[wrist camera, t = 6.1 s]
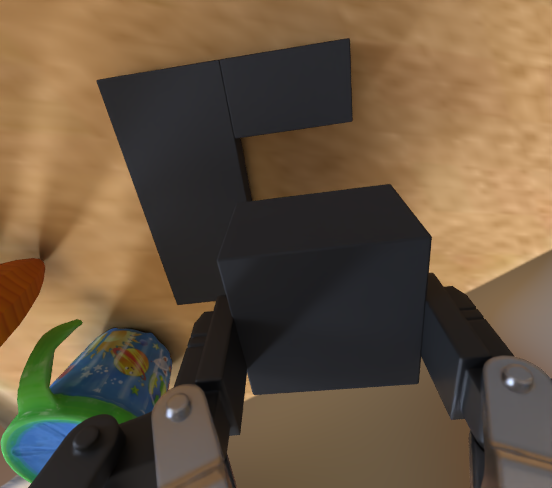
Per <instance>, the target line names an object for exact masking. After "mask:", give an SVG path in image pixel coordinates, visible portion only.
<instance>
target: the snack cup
mask: <svg viewBox="0 0 552 488" xmlns="http://www.w3.org/2000/svg"><path fill="white" fill-rule="evenodd" d="M80 325H82V321H81V320H78V319H76V320H74V321H70V322H67V323H64V324H61V325H59V326H57V327H55V328H53V329H51V330H50V331H48V332H47V333H45V334H44V335H43V336H42V337H41V339H40V340H39V341H38V343H37V344H36V346H35V348H34V350H33V351H32V353H31V354H30V356H29V359H28V361H27V363H26V365H25V368H24V370H23V373H22V375H21V378H20V382H19V388H18V398H17V402H18V411H19V413H18V415H17V416H16V417H15V418H14V420H13V421H12V422H11V424H10V425H9V426H8V428H7V429H6V431H5V432H4V434H3V436H2V439H1V450H2V453H3V456H4V458H5V460H6V462H7V463H8V464H9V466H10V467H11V468H12V469H13V470H14V471H15V472H16V473H17V474H18V475H20V476H21V477H22V478H24V479H25V480H27V481H28V482H30V483H32V482H33V481H34V479H35V478H36V477H37V475H38V474H39V472H40V471H41V470H42V468H43V467H44V466H45V464H46V463H47V462H48V460H49V459H50V457H51V456H52V455H53V453H54V452H55V451H56V449H57V448H58V447H59V445H60V444H61V442H62V441H63V440H64V438H65V437H66V436H67V435H68V433H69V432H70V431H71V430H72V429H73V428H74V427H76V426H77V425H78V424H80V423H81V422H82V421H84V420H86V419H88V418H90V417H92V416H96V415H100V414H108V415H111V416H113V417H114V418H115V419H116V420H117V422H118V423H119V424H121V423H123V422H126V421H129V420H131V419H134V418H137V417H139V416H142V415H144V414H147V413H149V412H151V411H152V410H153V408H154V406H155V404H156V402H157V401H158V400H159V398H160V397H161V396H162V395H163V394H164V393H166V392H167V391H168V388H169V381H170V375H171V369H172V359H171V358H170V353H169V351H168V350H167V349H166V348H165V346H164V345H163V344H162V343H160V342H159V341H158V339H157V338H156V337H155V336H154V335H153V333H143V332H141V331H137V330H134V329H118V328H113V329H110V330H108V331H107V332H105V333H104V334H102V335H101V336H99V337H98V338H96V339H95V340H94V341H93V342H92V343H91V344H90V345H89V346H88V347H87V348H86V349H85V351H84V352H83V353H81V354H80V355H79V356H78V357H77V358H76V359H75V360H74V361H73V363H72V364H71V365H70V366H69V367H68V368H67V369H66V370H65V371H64V372H63V373H62V374H61V375H60V376H59V377H58V378H57V379H56V380H55V381H54V382H53V384H52V385H51V386H50V380H51V372H52V365H53V358H54V352H55V349H56V348H57V347H58V346H59V345H60V344H61V343H62V342H63V341H64V340H65V339H66V338H67V337H68V336H69V335H70V334H71V333H72V332H73V331H74V330H75V329H76V328H77V327H78V326H80ZM49 386H50V387H49Z"/></svg>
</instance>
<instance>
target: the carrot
mask: <svg viewBox="0 0 552 488" xmlns="http://www.w3.org/2000/svg"><path fill="white" fill-rule="evenodd" d="M44 273H45V265H44V262H43V261H42V260H40V259H35V258H31V259H22V260H15V261H11V262H7V263H2V264H0V347H1V346H2V344H3V343H4V342H5V341H6V340H7V339H8V337H9V336H10V335H11V334H12V333H13V332H14V330H15V329H16V328H17V327H18V326H19V325H20V323H21V322H22V320H23V319H24V317H25V316H26V314H27V313H28V311H29V310H30V308H31V307H32V305H33V303H34V302H35V300H36V298H37V297H38V295H39V293H40V290H41V287H42V284H43V281H44Z"/></svg>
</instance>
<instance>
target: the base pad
mask: <svg viewBox="0 0 552 488" xmlns="http://www.w3.org/2000/svg"><path fill="white" fill-rule="evenodd" d="M97 84H98V87H99V89H100V92H101V95H102V98H103V100H104V103H105V106H106V109H107V112H108V114H109V117H110V120H111V123H112V125H113V128H114V131H115V134H116V136H117V139H118V142H119V145H120V148H121V150H122V153H123V156H124V159H125V161H126V164H127V167H128V170H129V172H130V175H131V178H132V181H133V184H134V186H135V189H136V192H137V195H138V197H139V200H140V203H141V206H142V209H143V211H144V214H145V217H146V220H147V222H148V225H149V228H150V231H151V233H152V236H153V239H154V242H155V245H156V247H157V250H158V253H159V256H160V258H161V261H162V264H163V267H164V269H165V272H166V275H167V278H168V281H169V283H170V286H171V289H172V292H173V294H174V297H175V300H176V303H177V305H182V304H192V303H201V302H210V301H216V299H217V297H218V296H221V295H226V293H225V289H224V286H223V282H222V278H221V275H220V271H219V267H218V264H217V258H218V255H219V252H220V249H221V247H222V244H223V241H224V238H225V235H226V232H227V229H228V226H229V223H230V221H231V218H232V215H233V212H234V209H235V206H236V204H237V203H241V202H249V201H252V197H251V191H250V186H249V181H248V176H247V170H246V165H245V160H244V154H243V149H242V144H241V139H240V138H243V137H250V136H257V135H264V134H271V133H278V132H284V131H291V130H298V129H305V128H312V127H319V126H325V125H332V124H339V123H346V122H352V120H353V118H352V88H351V57H350V39H349V38H347V39H341V40H335V41H329V42H323V43H317V44H311V45H305V46H299V47H293V48H287V49H281V50H274V51H268V52H262V53H256V54H250V55H244V56H238V57H232V58H226V59H221V60H214V61H208V62H202V63H196V64H190V65H184V66H178V67H172V68H166V69H160V70H154V71H148V72H142V73H136V74H130V75H124V76H118V77H112V78H106V79H100V80H97Z"/></svg>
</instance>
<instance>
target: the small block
mask: <svg viewBox="0 0 552 488" xmlns="http://www.w3.org/2000/svg"><path fill="white" fill-rule="evenodd" d="M431 240H432V237H431V235H430V234H429V233H428V231H427V230H426V229H425V228H424V226H423V225H422V224H421V223H420V221H419V220H418V219H417V217H416V216H415V215H414V214H413V212H412V211H411V210H410V208H409V207H408V206H407V205H406V203H405V202H404V201H403V200H402V198H401V197H400V196H399V194H398V193H397V192H396V191H395V189H394V188H393V187H392V185H391V184H386V185H378V186H370V187H362V188H354V189H346V190H338V191H330V192H322V193H314V194H306V195H298V196H290V197H282V198H274V199H266V200H258V201H249V202H241V203H237V204H236V206H235V209H234V212H233V215H232V218H231V221H230V223H229V226H228V229H227V232H226V235H225V238H224V241H223V244H222V247H221V249H220V252H219V255H218V258H217V264H218V267H219V271H220V275H221V278H222V282H223V286H224V289H225V293H226V297H227V300H228V304H229V308H230V311H231V315H232V317H233V318H234V322H235V325H236V329H237V333H238V336H239V340H240V344H241V347H242V351H243V355H244V359H245V362H246V366H247V374H248V378H249V381H250V385H251V389H252V392H253V394H254V395H262V394H275V393H276V394H277V393H291V392H306V391H321V390H336V389H350V388H366V387H379V386H394V385H410V384H418V383H419V374H420V362H421V347H422V335H423V324H424V313H425V301H426V296H427V285H428V274H429V262H430V251H431Z"/></svg>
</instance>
